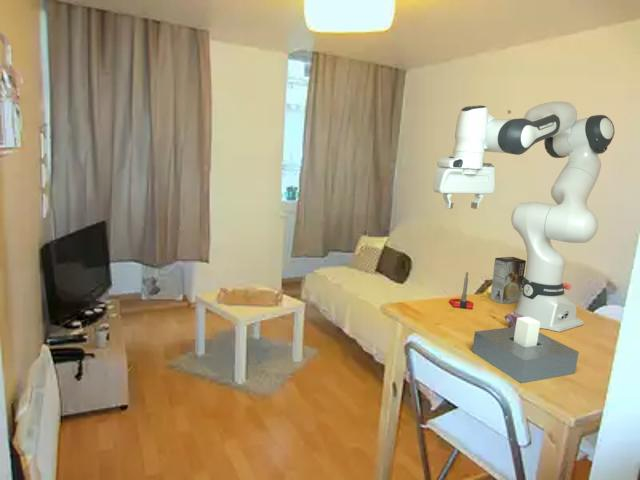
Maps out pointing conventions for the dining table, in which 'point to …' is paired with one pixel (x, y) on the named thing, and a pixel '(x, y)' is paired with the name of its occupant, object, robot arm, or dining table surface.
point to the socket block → (524, 355)
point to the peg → (526, 331)
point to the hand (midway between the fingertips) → (461, 208)
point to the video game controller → (512, 318)
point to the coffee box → (507, 279)
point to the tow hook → (463, 302)
